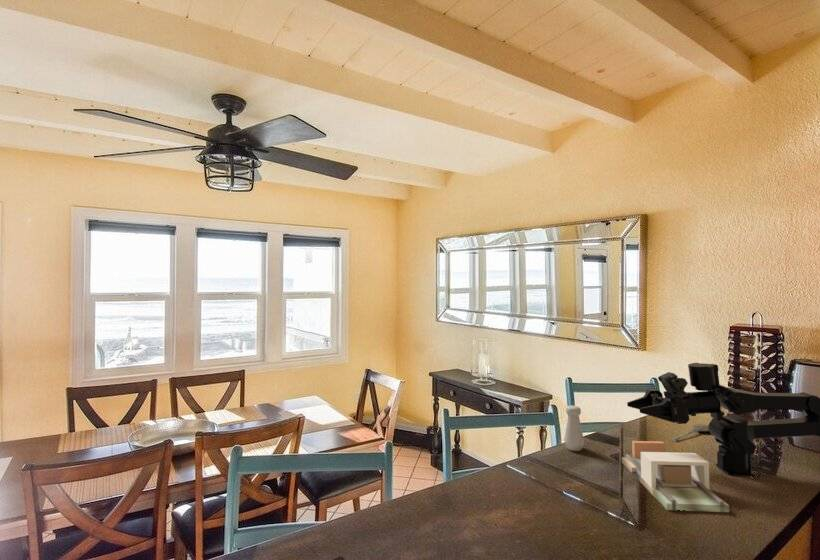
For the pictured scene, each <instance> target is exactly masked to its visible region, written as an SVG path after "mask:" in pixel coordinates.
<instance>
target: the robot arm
mask: <svg viewBox="0 0 820 560" xmlns="http://www.w3.org/2000/svg"><path fill="white" fill-rule="evenodd" d="M687 367H688V376H689V382H690V383H689V384H690V386H691V387H694V389H695V390H696V391H693V392H692V391H685V390H686V387H687V385H688V380H686V378H685V377H684V378H683V377H678V375H677V374H676V373H674V372H665V373H663V374H661V375H659V376H658V377H657V378H658V380H659V382H660V383H661V384H662V387H663V388H664V390H665V391H663V393H662V392H661V391H660V390H659V389H656V388H648V389H646V391H645V393H644V395H643V396H642V397H639V398H636V399H633V400H631V401H628V402H627V403H626V405H627V407H629V408H633V409H636V410H639V413H640V414H642V415H648V416H650V417H653V418H658V419H660V420H663V421H668V422H670V423H675V424H677V425H684V424H685V425H686V424H687V423H688V422H689V421H690V416H691V417H696V416H697V415H702V414H703V415H705V414H710V418H711V420H710V422H709V423H708V426H709V427H708V429H709V431H708V432H709V433H710V435H712V436H713V437H714V439H715V442H716V443H717V444H719V445H718V450H717V451H716V457H717V459H716V463H715V467H717V468H719V470H721V471H723V473H725V474H727V475H729V476H742V477H745V476H746V477H747V476H748V477H755V476H756V473H754V472H753V471H752V456H751V455H754V454H755V451H756V448H757V446H756V444H754V443H753V441H754V440H758V439H775V438H792V437H793V438H794V437H796V438H797V437H811V436H815V437H820V397H819V396H817V395H814V394H811V393H807V392H803V391H802V392H753V391H747V390H744V389H739V388H738V389H737V388H734V387H727V386H724V385H722V384H720V379H719V365H718V364H715V363H703V362H702V363H701V362H693V363H692V362H691V363H688V364H687ZM663 396H664V397H663ZM722 409H724V410H727V411H729V412H731V413H732V414H726V415H725V412H724V411H722ZM759 410H786V411H787V410H788V411H791V410H792V411H793V410H794V411H798V410H799V411H803V413H804V414H805V416H804V417H797V418H796V417H795V418H780V419H778V418H777V419H764V420H762V419H761V420H748V419H745V418H743V417H742V416H740V415H744V414H750V413H754V412H756V411H759Z"/></svg>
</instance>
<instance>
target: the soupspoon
mask: <svg viewBox="0 0 820 560" xmlns="http://www.w3.org/2000/svg"><path fill="white" fill-rule="evenodd" d="M708 427H709V425H706V424H703V423H702V424H701V423H697V424H694V425H692V428H693V429H692V430H690V431H687V432H685V433H683V434H680V435H677V436H675V437H671V438H670V440H671V441H672V440H673V441H672V442H675V441H677V442H678V440H679V439H681V438H683V437H685V436H688V435H690V434H691V435H692V433H693V434H694V433H696V432H709V429H708Z"/></svg>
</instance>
